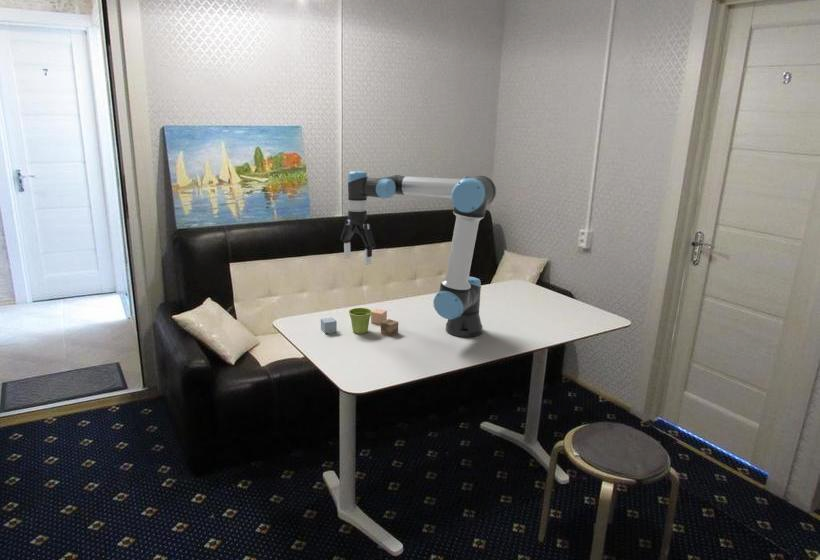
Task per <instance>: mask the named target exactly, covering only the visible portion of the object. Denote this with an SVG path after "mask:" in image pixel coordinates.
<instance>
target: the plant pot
mask: <svg viewBox="0 0 820 560" xmlns="http://www.w3.org/2000/svg"><path fill="white" fill-rule="evenodd" d="M372 311H373V310H372V309H369V308H368V307H367V308H366V307H353V308H351V309H350V310H348V314H349V316H350V320H351V327H352V333H355V334H357V335H363V334H365V333H366V334H367V333H368V330H369V325H370V320H371V313H372Z"/></svg>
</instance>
